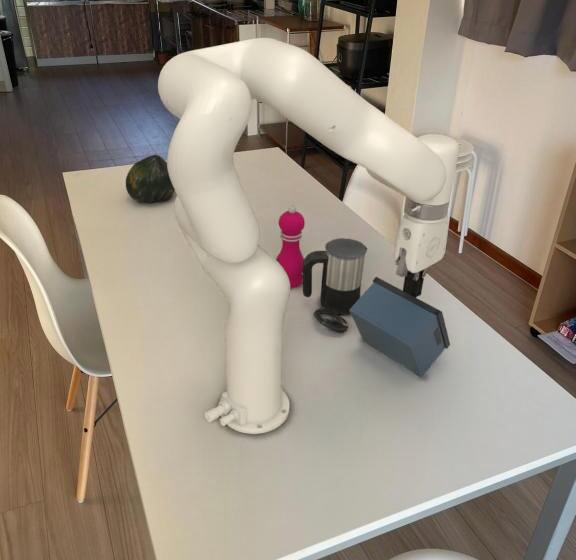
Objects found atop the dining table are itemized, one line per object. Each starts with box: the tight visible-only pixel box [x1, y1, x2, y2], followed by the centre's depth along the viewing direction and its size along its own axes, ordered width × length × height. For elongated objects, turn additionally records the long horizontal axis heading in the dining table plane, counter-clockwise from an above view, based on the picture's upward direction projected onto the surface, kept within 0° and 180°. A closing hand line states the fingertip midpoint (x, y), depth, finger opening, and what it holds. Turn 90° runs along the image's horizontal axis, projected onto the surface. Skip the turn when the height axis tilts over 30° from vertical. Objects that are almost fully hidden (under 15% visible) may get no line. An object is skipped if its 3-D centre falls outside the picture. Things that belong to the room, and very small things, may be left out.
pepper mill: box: [275, 205, 306, 289], centre depth 136 cm, size 7×7×20 cm
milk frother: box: [302, 237, 368, 333], centre depth 126 cm, size 14×16×15 cm
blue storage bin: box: [349, 276, 451, 378], centre depth 114 cm, size 9×16×12 cm, turn 42°
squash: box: [125, 154, 176, 203], centre depth 177 cm, size 14×15×15 cm
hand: (411, 293), depth 111 cm, fingers closed
